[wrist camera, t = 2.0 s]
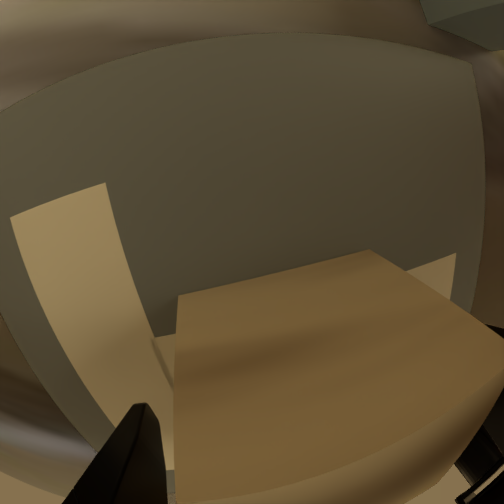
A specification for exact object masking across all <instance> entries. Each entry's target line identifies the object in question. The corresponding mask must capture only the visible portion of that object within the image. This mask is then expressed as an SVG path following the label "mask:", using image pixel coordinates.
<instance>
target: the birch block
mask: <svg viewBox="0 0 504 504" xmlns="http://www.w3.org/2000/svg"><path fill="white" fill-rule="evenodd" d="M503 388H504V339H503V338H502V337H501V336H499V335H498V334H497V333H495V332H494V331H493V330H491V329H490V328H489V327H487V326H486V325H484V324H483V323H482V322H480V321H479V320H477V319H476V318H475V317H473V316H472V315H470V314H469V313H468V312H466V311H465V310H463V309H462V308H460V307H459V306H457V305H456V304H454V303H453V302H452V301H450V300H449V299H447V298H446V297H444V296H443V295H441V294H440V293H438V292H437V291H435V290H434V289H432V288H431V287H429V286H428V285H426V284H424V283H423V282H421V281H420V280H418V279H417V278H415V277H414V276H412V275H410V274H409V273H407V272H406V271H404V270H402V269H401V268H399V267H398V266H396V265H394V264H393V263H391V262H390V261H388V260H386V259H385V258H383V257H381V256H380V255H378V254H376V253H375V252H373V251H371V250H370V249H368V250H364V251H360V252H356V253H353V254H349V255H345V256H341V257H337V258H333V259H330V260H326V261H322V262H318V263H314V264H310V265H306V266H302V267H298V268H294V269H290V270H286V271H282V272H278V273H274V274H269V275H265V276H261V277H257V278H253V279H249V280H244V281H240V282H236V283H232V284H227V285H223V286H219V287H214V288H210V289H206V290H201V291H197V292H192V293H188V294H183V295H179V296H178V307H177V321H176V338H175V359H174V394H173V441H174V473H175V492H176V504H404V503H406V502H407V501H409V500H411V499H413V498H414V497H416V496H418V495H419V494H421V493H423V492H425V491H426V490H428V489H429V488H431V487H432V486H434V485H435V484H437V482H439V480H440V479H441V478H442V477H443V476H444V475H445V474H446V472H447V471H448V470H449V469H450V468H451V466H452V465H453V464H454V463H455V461H456V460H457V459H458V458H459V456H460V455H461V454H462V452H463V451H464V450H465V448H466V447H467V446H468V444H469V443H470V441H471V440H472V439H473V437H474V436H475V434H476V433H477V431H478V430H479V428H480V427H481V425H482V424H483V422H484V421H485V419H486V417H487V416H488V414H489V412H490V411H491V409H492V407H493V406H494V404H495V402H496V401H497V399H498V397H499V395H500V393H501V391H502V390H503Z"/></svg>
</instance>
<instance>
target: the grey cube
mask: <svg viewBox="0 0 504 504" xmlns="http://www.w3.org/2000/svg"><path fill="white" fill-rule="evenodd" d="M419 1H420V3H421V6H422V9H423V11H424V14H425V17H426V20H427V23H428V25H430V26H433V27H436V28H439V29H441V30H444V31H447V32H449V33H452V34H454V35H457V36H459V37H462V38H464V39H466V40H469V41H471V42H473V43H475V44H477V45H480V46H482V47H484V48H486V49H488V50H490V51H497V50H504V0H419Z"/></svg>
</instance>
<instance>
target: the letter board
mask: <svg viewBox="0 0 504 504" xmlns="http://www.w3.org/2000/svg"><path fill="white" fill-rule="evenodd" d="M485 195H486V174H485V150H484V137H483V127H482V119H481V111H480V104H479V98H478V92H477V87H476V82H475V77H474V73H473V68H472V64H471V63H469V62H466V61H463V60H460V59H457V58H454V57H451V56H447V55H444V54H441V53H437V52H434V51H430V50H426V49H422V48H418V47H414V46H409V45H405V44H400V43H395V42H389V41H384V40H378V39H371V38H364V37H356V36H347V35H336V34H321V33H260V34H245V35H233V36H224V37H216V38H209V39H202V40H196V41H190V42H184V43H179V44H174V45H169V46H165V47H160V48H156V49H152V50H148V51H144V52H140V53H137V54H133V55H130V56H126V57H123V58H120V59H116V60H113V61H110V62H107V63H104V64H102V65H99V66H96V67H93V68H90V69H88V70H85V71H83V72H80V73H78V74H75V75H73V76H70V77H68V78H66V79H63V80H61V81H59V82H57V83H54V84H52V85H50V86H48V87H46V88H44V89H42V90H40V91H38V92H36V93H34V94H32V95H30V96H28V97H26V98H24V99H23V100H21V101H19V102H17V103H15V104H14V105H12V106H10V107H9V108H7V109H5V110H4V111H2V112H0V312H1V315H2V317H3V319H4V321H5V323H6V325H7V327H8V329H9V331H10V333H11V334H12V336H13V338H14V340H15V342H16V344H17V345H18V347H19V349H20V351H21V352H22V354H23V356H24V357H25V359H26V361H27V362H28V364H29V366H30V367H31V369H32V370H33V372H34V373H35V375H36V376H37V378H38V379H39V381H40V382H41V384H42V385H43V387H44V388H45V390H46V391H47V392H48V394H49V395H50V397H51V398H52V399H53V401H54V402H55V403H56V405H57V406H58V407H59V409H60V410H61V411H62V412H63V414H64V415H65V416H66V417H67V419H68V420H69V421H70V422H71V423H72V425H73V426H74V427H75V428H76V429H77V431H78V432H79V433H80V434H81V435H82V436H83V437H84V438H85V440H86V441H87V442H88V443H89V444H90V445H91V446H92V447H93V448H94V449H95V450H96V451H97V452H99V451H100V449H101V448H102V447H103V445H104V444H105V442H106V441H107V440H108V438H109V437H110V435H111V434H112V433H113V431H114V430H115V428H116V427H117V426H118V424H119V423H120V421H121V420H122V419H123V417H124V416H125V414H126V413H127V412H128V410H129V409H130V408H131V406H132V405H133V404H135V403H143V402H146V403H148V404H149V406H150V407H151V409H152V410H153V412H154V414H155V415H156V417H157V418H158V420H159V423H160V429H161V437H162V444H163V452H164V458H165V465H166V478H167V493H176V492H175V473H174V441H173V394H174V359H175V338H176V321H177V307H178V296H179V295H183V294H188V293H192V292H197V291H201V290H206V289H210V288H214V287H219V286H223V285H227V284H232V283H236V282H240V281H244V280H249V279H253V278H257V277H261V276H265V275H269V274H274V273H278V272H282V271H286V270H290V269H294V268H298V267H302V266H306V265H310V264H314V263H318V262H322V261H326V260H330V259H333V258H337V257H341V256H345V255H349V254H353V253H356V252H360V251H364V250H368V249H370V250H371V251H373V252H375V253H376V254H378V255H380V256H381V257H383V258H385V259H386V260H388V261H390V262H391V263H393V264H394V265H396V266H398V267H399V268H401V269H402V270H404V271H406V272H407V273H409V274H410V275H412V276H414V277H415V278H417V279H418V280H420V281H421V282H423V283H424V284H426V285H428V286H429V287H431V288H432V289H434V290H435V291H437V292H438V293H440V294H441V295H443V296H444V297H446V298H447V299H449V300H450V301H452V302H453V303H454V304H456V305H457V306H459V307H460V308H462V309H463V310H465V311H466V312H468V313H469V314H470V312H471V308H472V304H473V299H474V294H475V289H476V284H477V278H478V272H479V266H480V259H481V251H482V242H483V232H484V219H485Z"/></svg>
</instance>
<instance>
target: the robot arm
mask: <svg viewBox="0 0 504 504" xmlns="http://www.w3.org/2000/svg"><path fill="white" fill-rule="evenodd" d="M484 325H486V324H484ZM486 326H487V327H489V328H490V329H491V330H493V331H494V332H495V333H497V334H498V335H499V336H501V337H502V338H503V339H504V329H503V328H499V327H495V326H491V325H486ZM454 464H455V466H456V467H457V468H458V470H459V471H460V472H461V474H462V475H463V476H464V478H465V479H466V480H467V482H468V483H469V484H470V486H471V487H470V489H468V490H467V491H465V492H464V493H462V494H461V495H459V496H458V497H457V498H456V499H455V502H456V503H457V504H504V471H503V472H501V473H500V474H499V476H497V477H496V478H495V479H494V480H493V481H492V482H491V483H490V484H489V485H488V486H486V487H485V488H484V489H483V490H482V491H481V492H479V493H478V494H477V495H476V494H475V493H474V492H475V491H476V490H477V489H478V488H479V487H481V486H482V485H483V484H484V483H485V482H486V481H487V480H488V479H490V478H491V477H492V476H493V475H494V474H495V473H496V472H497V471H498V470H499V469H500V468H501V467H502V466H503V465H504V388H503V390H502V391H501V393H500V395H499V397H498V399H497V401H496V402H495V404H494V406H493V407H492V409H491V411H490V412H489V414H488V416H487V417H486V419H485V421H484V422H483V424H482V425H481V427H480V428H479V430H478V431H477V433H476V434H475V436H474V437H473V439H472V440H471V441H470V443H469V444H468V446H467V447H466V448H465V450H464V451H463V452H462V454H461V455H460V456H459V458H458V459H457V460H456V461H455V463H454ZM62 504H168V499H167V478H166V465H165V458H164V452H163V444H162V437H161V429H160V423H159V420H158V418H157V417H156V415H155V414H154V412H153V410H152V409H151V407H150V406H149V404H148V403H146V402H143V403H135V404H133V405H132V406H131V408H130V409H129V410H128V412H127V413H126V414H125V416H124V417H123V419H122V420H121V421H120V423H119V424H118V426H117V427H116V428H115V430H114V431H113V433H112V434H111V435H110V437H109V438H108V440H107V441H106V442H105V444H104V445H103V447H102V448H101V449H100V451H99V452H98V454H97V455H96V456H95V458H94V459H93V461H92V462H91V464H90V465H89V466H88V468H87V469H86V471H85V472H84V473H83V475H82V476H81V478H80V479H79V480H78V482H77V483H76V485H75V486H74V489H72V490H71V492H70V493H69V494H68V496H67V497H66V499H65V500H64V501H63V503H62Z"/></svg>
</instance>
